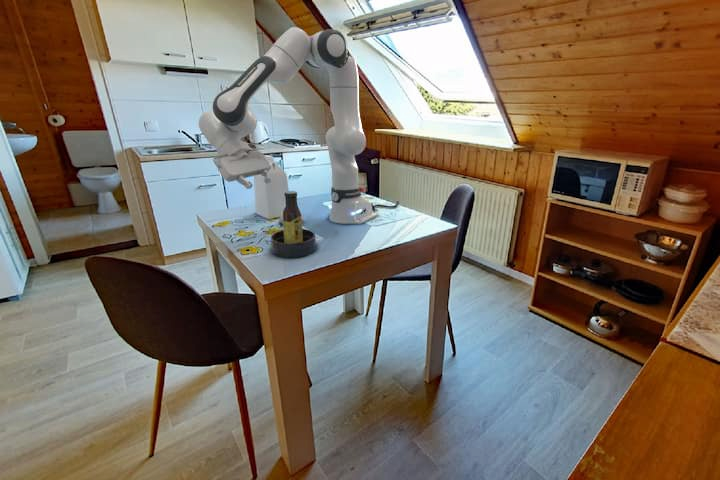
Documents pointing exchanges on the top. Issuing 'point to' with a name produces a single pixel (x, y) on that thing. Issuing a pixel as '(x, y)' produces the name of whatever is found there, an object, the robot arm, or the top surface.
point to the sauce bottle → (292, 219)
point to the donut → (282, 219)
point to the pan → (295, 248)
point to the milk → (271, 192)
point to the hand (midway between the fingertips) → (260, 184)
